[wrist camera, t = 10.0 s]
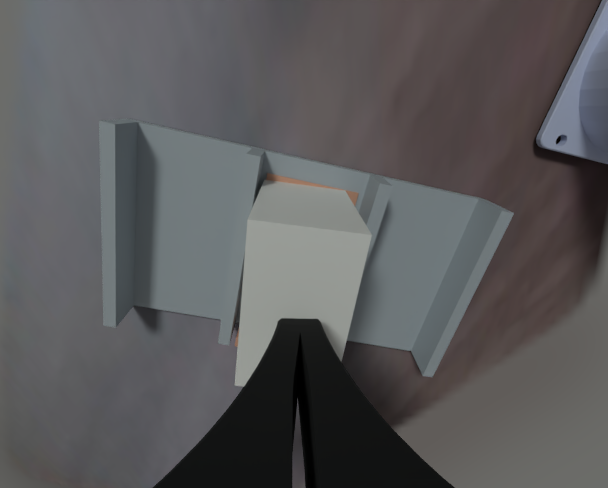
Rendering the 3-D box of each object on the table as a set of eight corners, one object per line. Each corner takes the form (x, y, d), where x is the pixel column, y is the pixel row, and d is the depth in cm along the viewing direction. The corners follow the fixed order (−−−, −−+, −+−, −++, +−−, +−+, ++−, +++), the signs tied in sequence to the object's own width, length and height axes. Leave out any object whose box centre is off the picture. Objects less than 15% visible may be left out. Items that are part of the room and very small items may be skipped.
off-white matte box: (345, 190, 16) (371, 235, 10) (322, 308, 19) (333, 393, 13) (264, 179, 16) (247, 219, 10) (253, 301, 18) (234, 385, 13)
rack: (484, 198, 17) (514, 213, 15) (417, 347, 21) (432, 377, 18) (129, 118, 15) (99, 120, 13) (127, 298, 19) (103, 325, 16)
